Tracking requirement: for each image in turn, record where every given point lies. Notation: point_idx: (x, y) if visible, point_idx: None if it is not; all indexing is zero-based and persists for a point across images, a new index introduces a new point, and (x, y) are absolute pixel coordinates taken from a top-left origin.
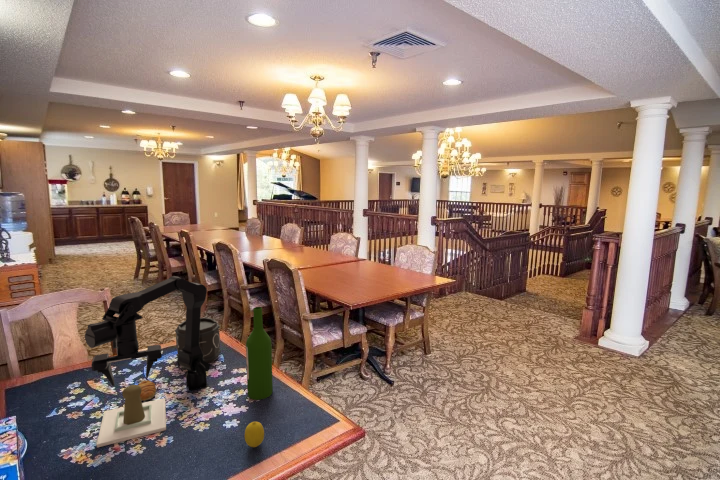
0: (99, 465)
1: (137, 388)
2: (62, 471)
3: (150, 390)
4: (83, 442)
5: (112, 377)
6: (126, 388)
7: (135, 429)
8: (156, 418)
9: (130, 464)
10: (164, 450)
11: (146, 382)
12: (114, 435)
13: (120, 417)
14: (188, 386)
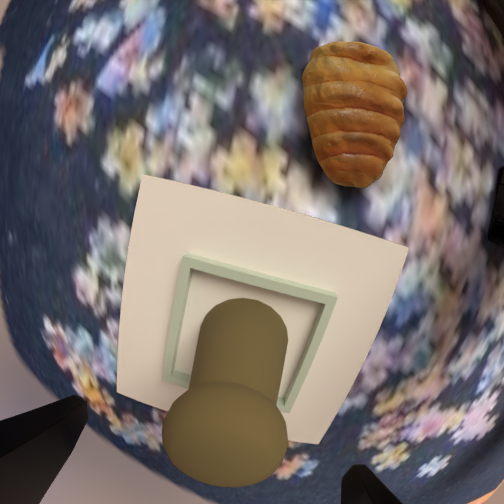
0: (135, 446)
1: (254, 482)
2: None
3: (376, 150)
4: (85, 330)
5: (42, 473)
6: (182, 456)
7: None
8: (316, 389)
9: (199, 482)
10: (277, 488)
11: (374, 62)
12: (164, 389)
13: (194, 285)
14: (498, 218)
